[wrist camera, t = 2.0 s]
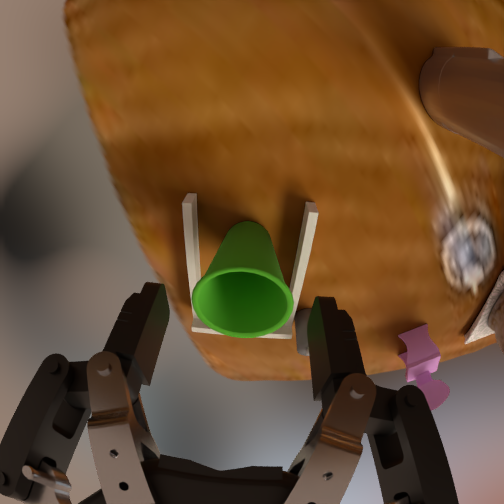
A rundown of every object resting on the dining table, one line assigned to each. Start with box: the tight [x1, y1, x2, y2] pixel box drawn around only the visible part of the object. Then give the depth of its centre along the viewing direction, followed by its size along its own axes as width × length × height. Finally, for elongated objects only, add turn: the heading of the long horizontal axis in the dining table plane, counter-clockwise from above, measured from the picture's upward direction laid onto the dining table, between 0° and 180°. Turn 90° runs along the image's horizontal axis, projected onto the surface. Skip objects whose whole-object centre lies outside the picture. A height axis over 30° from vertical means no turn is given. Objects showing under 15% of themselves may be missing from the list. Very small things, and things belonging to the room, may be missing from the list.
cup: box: [191, 221, 294, 338], centre depth 28 cm, size 9×9×11 cm
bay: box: [182, 193, 318, 356], centre depth 33 cm, size 20×18×7 cm
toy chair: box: [398, 324, 450, 410], centre depth 38 cm, size 8×9×15 cm
